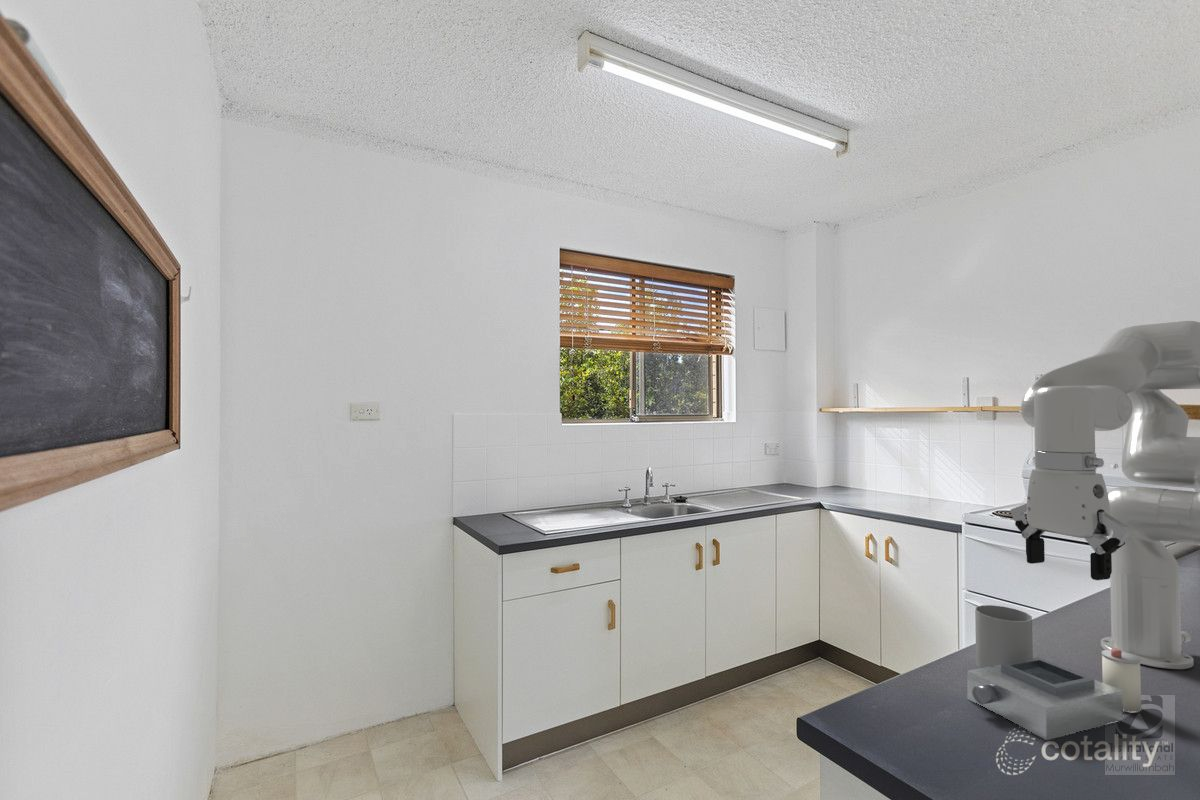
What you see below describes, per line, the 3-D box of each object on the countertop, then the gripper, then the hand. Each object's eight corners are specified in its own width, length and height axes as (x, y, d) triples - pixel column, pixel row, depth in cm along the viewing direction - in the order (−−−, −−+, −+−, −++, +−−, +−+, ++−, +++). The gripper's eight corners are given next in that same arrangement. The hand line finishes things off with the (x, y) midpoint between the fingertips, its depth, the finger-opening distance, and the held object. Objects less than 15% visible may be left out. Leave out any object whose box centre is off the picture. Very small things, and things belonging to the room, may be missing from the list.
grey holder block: (1039, 684, 96) (1038, 650, 96) (1123, 721, 85) (1122, 682, 85) (956, 701, 90) (955, 665, 90) (1034, 743, 79) (1033, 701, 79)
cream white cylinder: (1114, 697, 92) (1113, 641, 92) (1148, 711, 88) (1147, 653, 88) (1095, 701, 90) (1094, 645, 91) (1129, 715, 86) (1128, 657, 86)
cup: (1043, 682, 97) (1042, 623, 97) (989, 678, 98) (988, 619, 99) (1017, 661, 105) (1016, 606, 105) (968, 657, 107) (967, 603, 107)
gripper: (1145, 467, 84) (1148, 584, 84) (1028, 458, 101) (1029, 555, 100) (1109, 468, 82) (1111, 588, 81) (995, 459, 98) (997, 558, 98)
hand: (1066, 570), depth 91 cm, fingers open, 9 cm apart
